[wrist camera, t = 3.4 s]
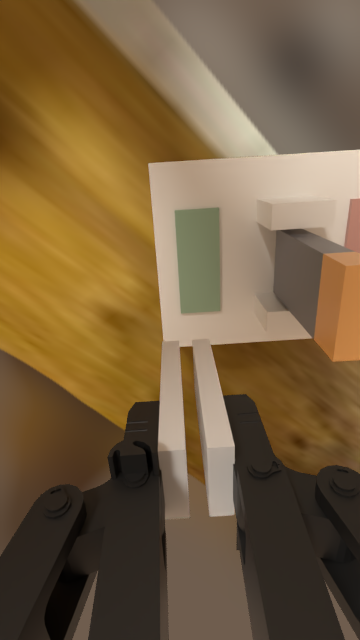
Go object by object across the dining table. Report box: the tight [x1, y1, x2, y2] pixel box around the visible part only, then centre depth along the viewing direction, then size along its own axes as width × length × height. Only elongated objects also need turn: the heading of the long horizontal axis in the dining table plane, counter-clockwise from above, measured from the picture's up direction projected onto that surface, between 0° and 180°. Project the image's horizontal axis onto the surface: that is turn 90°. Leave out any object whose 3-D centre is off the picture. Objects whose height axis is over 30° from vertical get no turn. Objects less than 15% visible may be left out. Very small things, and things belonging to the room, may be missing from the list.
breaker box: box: [148, 150, 360, 347], centre depth 33 cm, size 24×18×10 cm
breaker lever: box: [273, 229, 360, 362], centre depth 26 cm, size 2×6×14 cm, turn 3°
